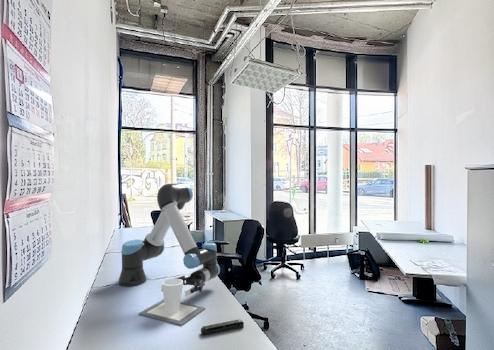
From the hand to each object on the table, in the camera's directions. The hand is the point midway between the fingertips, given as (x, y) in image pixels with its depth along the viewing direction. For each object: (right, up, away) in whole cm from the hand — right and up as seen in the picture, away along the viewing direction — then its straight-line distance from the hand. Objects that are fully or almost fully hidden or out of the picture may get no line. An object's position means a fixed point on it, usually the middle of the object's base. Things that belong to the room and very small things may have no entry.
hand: (173, 291), depth 147 cm
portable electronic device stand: (+24, -11, -17) cm, 31 cm away
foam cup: (0, -9, 0) cm, 9 cm away
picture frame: (0, -10, 0) cm, 10 cm away
